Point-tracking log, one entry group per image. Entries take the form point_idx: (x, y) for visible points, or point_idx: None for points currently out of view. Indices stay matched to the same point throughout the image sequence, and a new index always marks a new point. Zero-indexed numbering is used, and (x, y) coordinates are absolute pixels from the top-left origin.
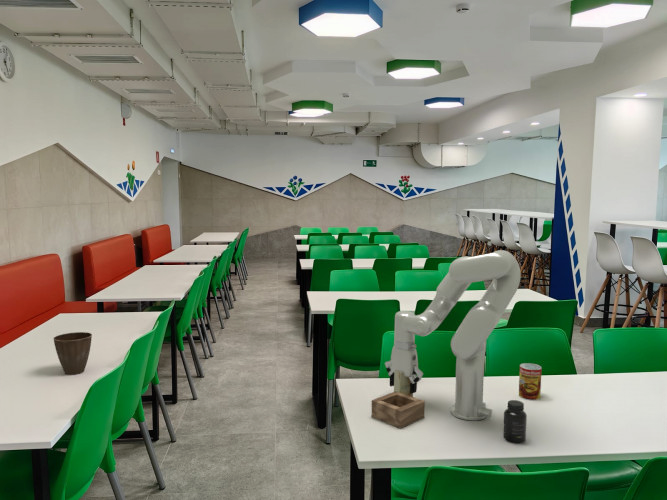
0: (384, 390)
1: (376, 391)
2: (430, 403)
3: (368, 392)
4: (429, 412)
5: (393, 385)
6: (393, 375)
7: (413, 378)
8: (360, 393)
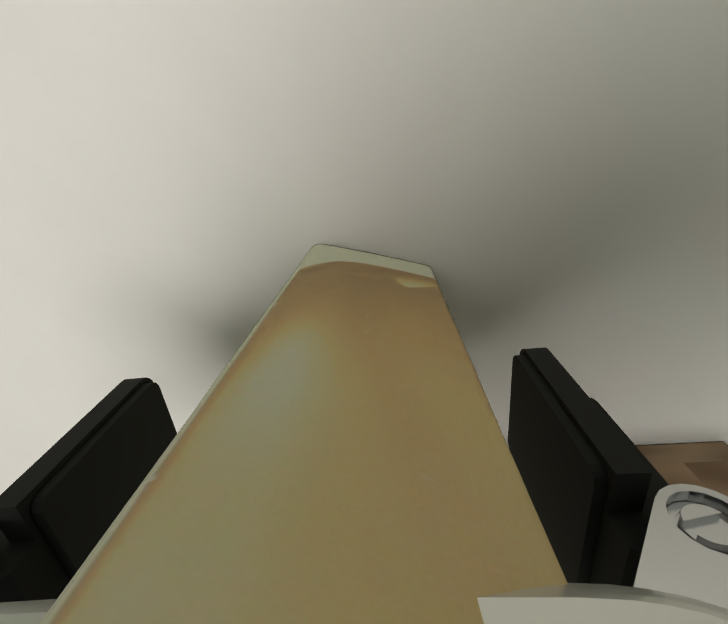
0: (5, 263)
1: (10, 342)
2: (606, 127)
3: (14, 408)
4: (713, 330)
5: (171, 428)
6: (52, 576)
7: (512, 460)
8: (17, 463)
